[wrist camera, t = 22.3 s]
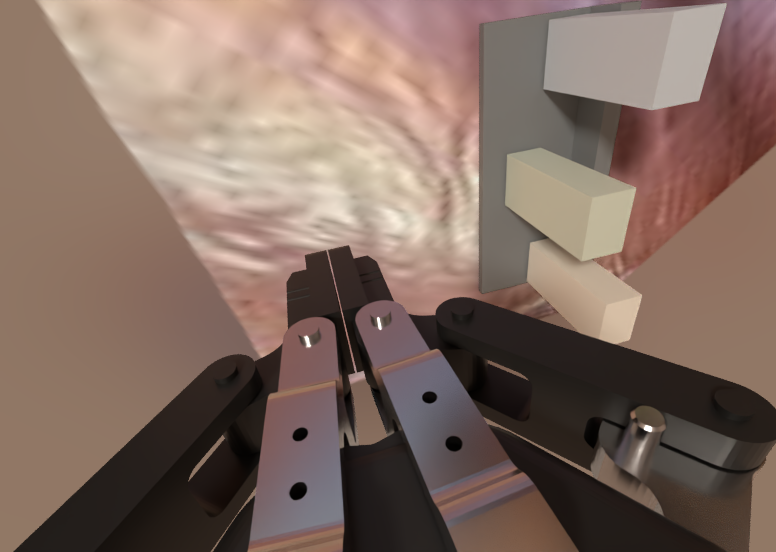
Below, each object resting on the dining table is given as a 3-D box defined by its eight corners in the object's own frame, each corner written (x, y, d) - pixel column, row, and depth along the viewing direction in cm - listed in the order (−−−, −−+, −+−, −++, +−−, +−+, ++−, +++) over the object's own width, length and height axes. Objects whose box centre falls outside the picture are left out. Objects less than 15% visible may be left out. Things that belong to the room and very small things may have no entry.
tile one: (526, 281, 53) (596, 349, 41) (529, 242, 50) (606, 304, 38) (556, 273, 54) (632, 339, 42) (561, 235, 50) (645, 294, 39)
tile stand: (478, 290, 54) (495, 311, 49) (479, 23, 37) (505, 22, 33) (564, 268, 55) (587, 287, 51) (602, 4, 38) (641, 0, 34)
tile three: (543, 89, 40) (651, 110, 28) (549, 19, 37) (674, 11, 25) (581, 81, 41) (703, 99, 29) (591, 13, 37) (732, 2, 26)
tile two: (505, 205, 46) (581, 261, 34) (507, 154, 43) (592, 198, 31) (539, 197, 47) (625, 250, 35) (543, 146, 43) (640, 186, 32)
